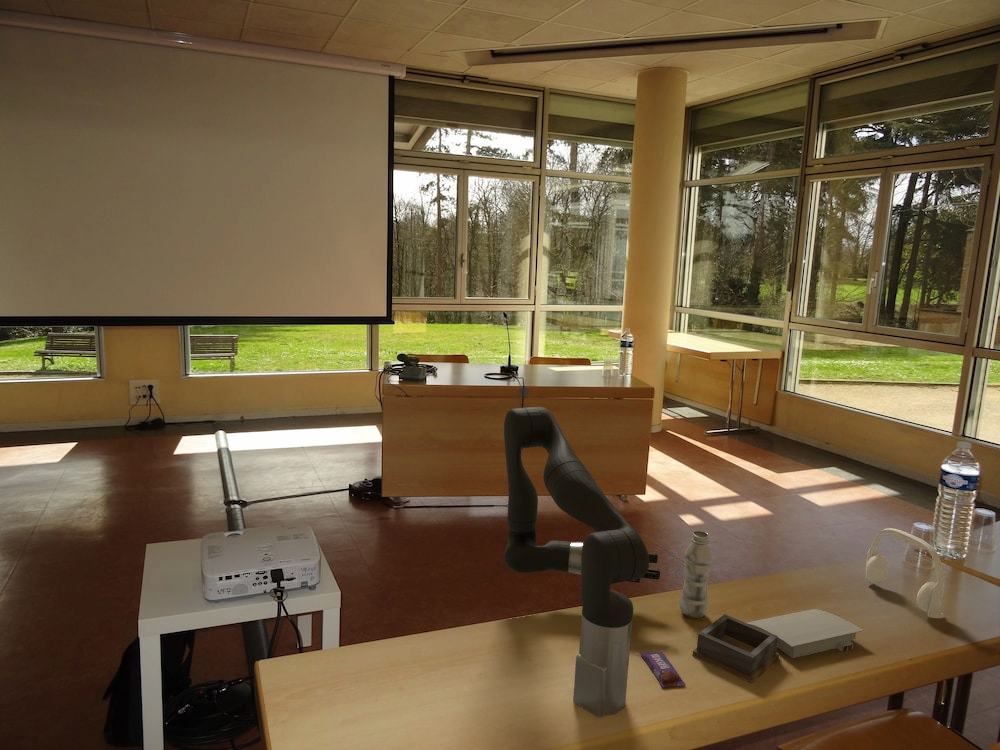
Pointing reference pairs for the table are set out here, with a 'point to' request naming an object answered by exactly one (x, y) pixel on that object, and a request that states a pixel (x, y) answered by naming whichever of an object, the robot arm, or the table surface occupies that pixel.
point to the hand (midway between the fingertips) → (658, 566)
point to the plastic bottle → (696, 576)
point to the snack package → (662, 669)
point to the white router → (809, 632)
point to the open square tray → (737, 647)
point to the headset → (929, 592)
